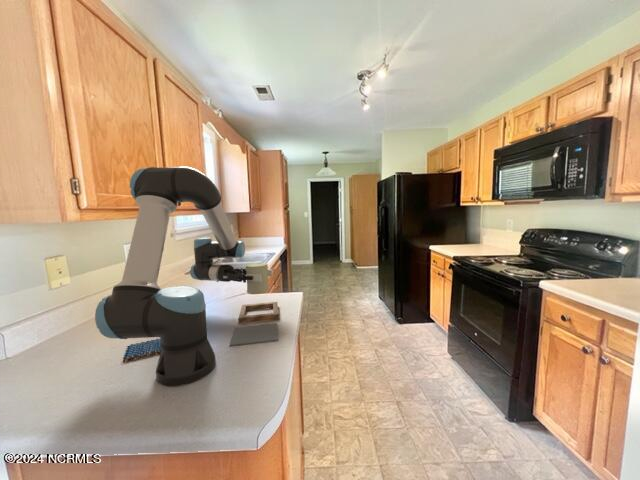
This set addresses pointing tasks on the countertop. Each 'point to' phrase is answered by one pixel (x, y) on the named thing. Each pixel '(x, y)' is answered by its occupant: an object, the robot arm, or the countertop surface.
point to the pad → (254, 334)
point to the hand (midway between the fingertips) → (266, 275)
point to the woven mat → (142, 350)
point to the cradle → (258, 317)
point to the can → (258, 286)
